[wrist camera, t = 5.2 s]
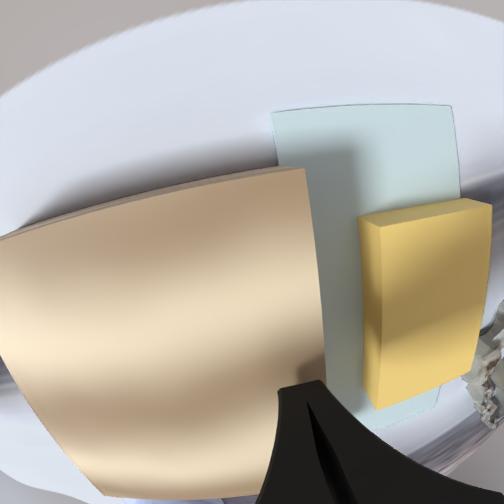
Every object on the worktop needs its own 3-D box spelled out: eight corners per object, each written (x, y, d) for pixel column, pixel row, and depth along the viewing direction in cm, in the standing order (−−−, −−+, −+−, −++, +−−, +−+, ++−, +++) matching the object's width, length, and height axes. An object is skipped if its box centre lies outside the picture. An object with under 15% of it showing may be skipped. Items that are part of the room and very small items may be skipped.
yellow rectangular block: (376, 410, 13) (362, 386, 15) (470, 371, 13) (451, 352, 15) (379, 227, 10) (357, 216, 12) (492, 205, 10) (464, 197, 12)
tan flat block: (311, 426, 16) (328, 479, 12) (117, 447, 15) (104, 495, 11) (278, 165, 11) (304, 167, 8) (15, 230, 11) (-40, 255, 7)
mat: (432, 404, 16) (434, 407, 16) (313, 445, 16) (314, 448, 16) (446, 106, 11) (450, 106, 11) (269, 114, 11) (270, 113, 11)
